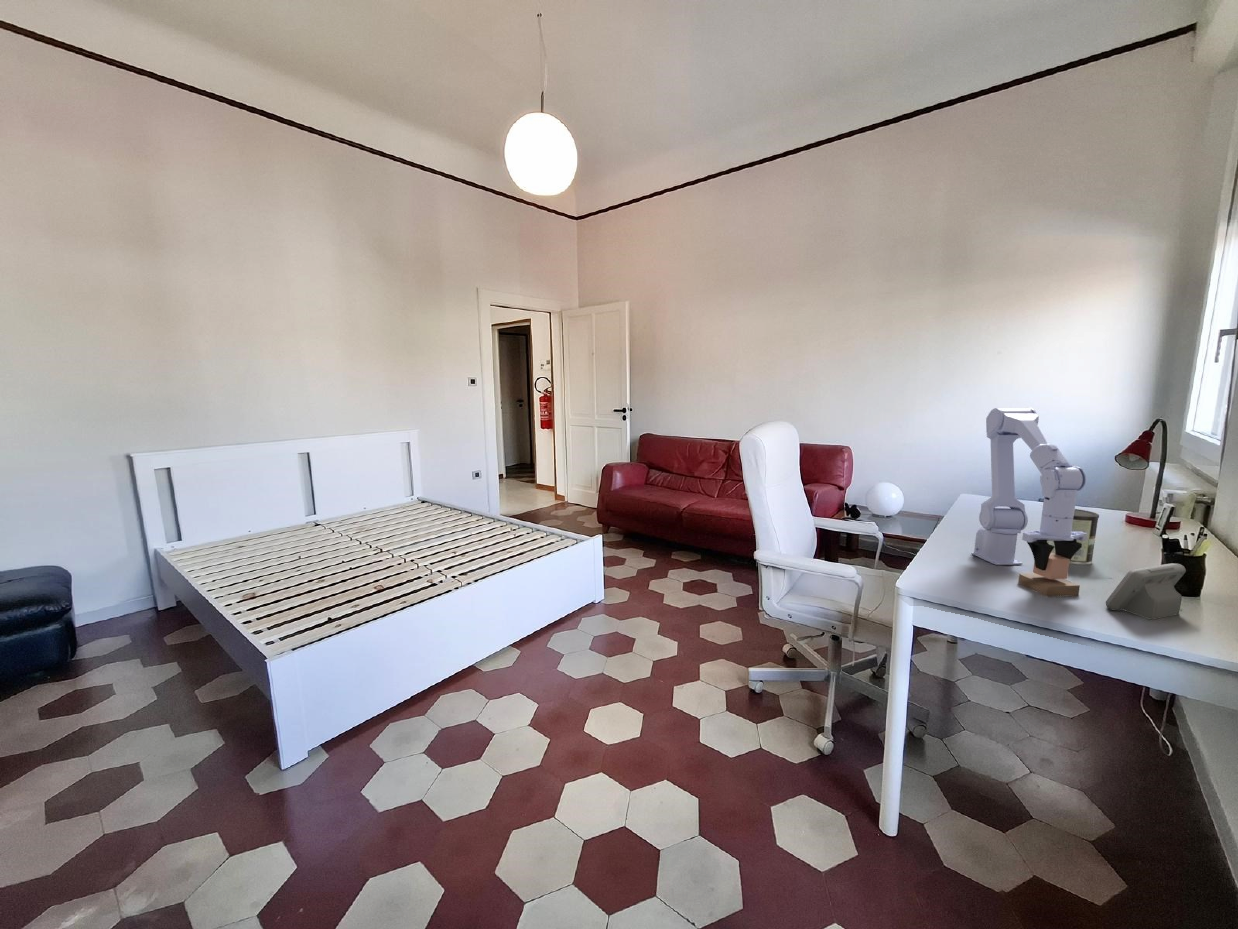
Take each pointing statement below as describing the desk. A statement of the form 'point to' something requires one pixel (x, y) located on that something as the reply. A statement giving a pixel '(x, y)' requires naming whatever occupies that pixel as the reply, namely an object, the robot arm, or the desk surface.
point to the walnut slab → (1049, 585)
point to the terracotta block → (1054, 567)
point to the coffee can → (1086, 524)
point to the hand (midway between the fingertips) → (1050, 568)
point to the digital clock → (1149, 591)
